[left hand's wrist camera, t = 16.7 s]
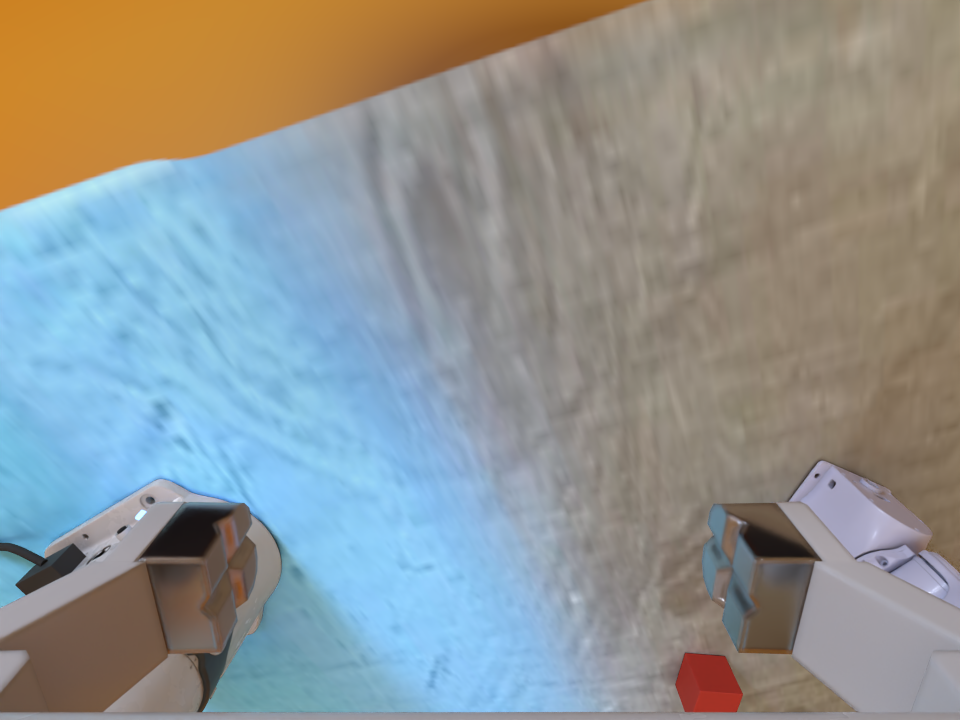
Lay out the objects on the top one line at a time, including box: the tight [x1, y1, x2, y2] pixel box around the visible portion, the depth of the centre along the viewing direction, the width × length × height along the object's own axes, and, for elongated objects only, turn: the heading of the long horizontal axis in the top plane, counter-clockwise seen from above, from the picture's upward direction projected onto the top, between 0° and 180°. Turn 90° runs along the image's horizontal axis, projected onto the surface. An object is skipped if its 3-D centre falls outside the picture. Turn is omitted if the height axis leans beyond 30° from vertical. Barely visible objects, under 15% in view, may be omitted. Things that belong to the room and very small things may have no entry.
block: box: [676, 653, 743, 712], centre depth 62 cm, size 5×4×5 cm
